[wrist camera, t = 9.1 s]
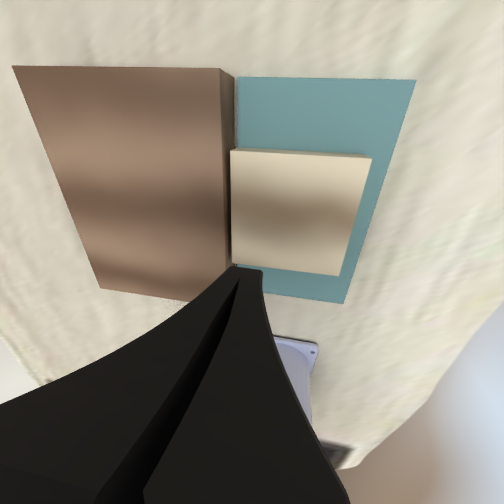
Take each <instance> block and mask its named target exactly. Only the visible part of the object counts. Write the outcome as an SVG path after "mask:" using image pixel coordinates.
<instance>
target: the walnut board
mask: <svg viewBox="0 0 504 504" xmlns="http://www.w3.org/2000/svg"><path fill="white" fill-rule="evenodd" d="M12 68H13V70H14V73H15V75H16V78H17V80H18V83H19V85H20V88H21V90H22V93H23V95H24V98H25V100H26V103H27V105H28V108H29V110H30V113H31V116H32V118H33V121H34V123H35V126H36V128H37V131H38V133H39V136H40V138H41V141H42V143H43V146H44V148H45V151H46V153H47V156H48V158H49V161H50V163H51V166H52V168H53V171H54V173H55V176H56V178H57V181H58V183H59V186H60V188H61V191H62V193H63V196H64V198H65V201H66V203H67V206H68V208H69V211H70V213H71V216H72V218H73V221H74V223H75V226H76V228H77V231H78V233H79V236H80V239H81V241H82V244H83V246H84V249H85V251H86V254H87V256H88V259H89V261H90V264H91V266H92V269H93V271H94V274H95V276H96V279H97V281H98V284H99V286H100V288H102V289H109V290H115V291H122V292H128V293H135V294H141V295H147V296H154V297H160V298H167V299H173V300H180V301H186V302H191V301H192V300H193V299H194V298H196V297H197V296H198V295H199V294H200V293H201V292H203V291H204V290H205V289H206V288H207V287H208V286H210V285H211V284H212V283H213V282H214V281H215V280H216V279H217V278H218V277H219V276H220V275H221V274H222V273H223V272H225V271H226V270H227V269H228V268H229V267H230V266H235V263H232V229H231V167H230V151H231V150H233V149H234V77H232V76H231V75H229V74H227V73H226V72H224V71H223V70H221V69H220V68H162V67H84V66H12Z"/></svg>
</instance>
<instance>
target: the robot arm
mask: <svg viewBox="0 0 504 504" xmlns="http://www.w3.org/2000/svg"><path fill="white" fill-rule="evenodd" d="M262 282H263V272H262V271H261V270H259V269H251V268H244V267H236V266H230V267H229V268H228V269H227V270H226V271H225V272H223V273H222V274H221V275H220V276H219V277H218V278H217V279H216V280H215V281H214V282H213V283H212V284H211V285H210V286H208V287H207V288H206V289H205V290H204V291H203V292H201V293H200V294H199V295H198V296H197V297H196V298H194V299H193V300H192V301H191V302H189V303H188V304H187V305H185V306H184V307H183V308H182V309H180V310H179V311H178V312H176V313H175V314H174V315H172V316H171V317H169V318H168V319H167V320H165V321H164V322H162V323H161V324H159V325H158V326H156V327H155V328H153V329H152V330H150V331H149V332H147V333H145V334H144V335H142V336H140V337H138V338H137V339H135V340H133V341H131V342H130V343H128V344H126V345H125V346H123V347H121V348H119V349H118V350H116V351H114V352H112V353H110V354H108V355H106V356H104V357H103V358H101V359H99V360H97V361H95V362H93V363H91V364H89V365H87V366H85V367H83V368H81V369H78V370H76V371H74V372H72V373H70V374H68V375H66V376H64V377H62V378H60V379H57V380H55V381H53V382H51V383H48V384H46V385H44V386H41V387H39V388H37V389H35V390H33V391H30V392H28V393H25V394H23V395H21V396H19V397H16V398H14V399H12V400H9V401H7V402H5V403H2V404H0V504H350V501H349V497H348V494H347V492H346V490H345V488H344V486H343V484H342V482H341V481H340V479H339V477H338V475H337V473H336V472H335V470H334V468H333V466H332V464H331V462H330V461H329V459H328V457H327V455H326V453H325V451H324V449H323V447H322V446H321V444H320V442H319V440H318V438H317V436H316V434H315V432H314V430H313V428H312V414H311V393H310V377H311V373H312V370H313V366H314V363H315V359H316V356H317V353H318V345H317V344H314V343H309V342H303V341H297V340H291V339H285V338H279V337H273V334H272V331H271V327H270V324H269V320H268V316H267V312H266V307H265V302H264V297H263V288H262Z"/></svg>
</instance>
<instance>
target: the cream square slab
mask: <svg viewBox="0 0 504 504" xmlns="http://www.w3.org/2000/svg"><path fill="white" fill-rule="evenodd" d="M371 162H372V158H370V157H368V156H366V155H364V154H354V153H336V152H318V151H300V150H281V149H263V148H245V147H237V148H235V149H233V150H231V151H230V167H231V229H232V263H237V264H245V265H253V266H261V267H269V268H277V269H285V270H293V271H301V272H309V273H317V274H325V275H333V276H339V274H340V271H341V267H342V264H343V260H344V257H345V253H346V249H347V246H348V242H349V239H350V235H351V232H352V228H353V225H354V221H355V218H356V214H357V211H358V207H359V204H360V200H361V197H362V193H363V190H364V186H365V183H366V179H367V176H368V172H369V169H370V165H371Z"/></svg>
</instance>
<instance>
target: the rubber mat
mask: <svg viewBox="0 0 504 504" xmlns="http://www.w3.org/2000/svg"><path fill="white" fill-rule="evenodd" d="M415 83H416V80H389V79H333V78H276V77H237V147H245V148H263V149H281V150H300V151H318V152H336V153H354V154H364V155H366V156H368V157H370V158H372V162H371V165H370V169H369V172H368V176H367V179H366V183H365V186H364V190H363V193H362V197H361V200H360V204H359V207H358V211H357V214H356V218H355V221H354V225H353V228H352V232H351V235H350V239H349V242H348V246H347V249H346V253H345V257H344V260H343V264H342V267H341V271H340V274H339V276H333V275H325V274H317V273H309V272H301V271H293V270H285V269H277V268H269V267H261V266H253V265H245V264H237V267H244V268H251V269H259V270H261V271H262V272H263V282H262V288H263V293H270V294H277V295H284V296H291V297H298V298H305V299H312V300H318V301H325V302H332V303H339V304H343V303H344V300H345V297H346V294H347V291H348V288H349V285H350V282H351V279H352V276H353V273H354V270H355V267H356V263H357V260H358V257H359V254H360V251H361V248H362V245H363V242H364V239H365V236H366V233H367V230H368V227H369V224H370V221H371V218H372V215H373V212H374V209H375V206H376V202H377V199H378V196H379V193H380V190H381V187H382V184H383V181H384V178H385V175H386V172H387V169H388V166H389V163H390V160H391V157H392V154H393V151H394V148H395V145H396V141H397V138H398V135H399V132H400V129H401V126H402V123H403V120H404V117H405V114H406V111H407V108H408V105H409V102H410V99H411V96H412V93H413V90H414V87H415Z"/></svg>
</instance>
